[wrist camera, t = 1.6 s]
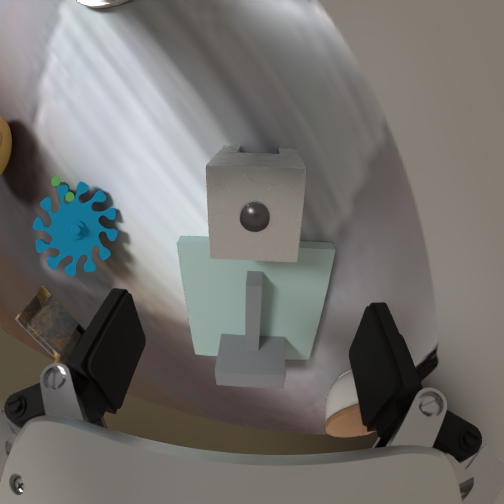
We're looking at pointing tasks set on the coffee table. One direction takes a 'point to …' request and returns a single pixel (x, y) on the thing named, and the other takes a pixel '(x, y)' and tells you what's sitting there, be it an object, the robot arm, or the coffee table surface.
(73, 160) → the coffee table surface
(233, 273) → the plate with grey stand
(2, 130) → the stress ball
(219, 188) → the grey box with knob
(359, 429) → the lidded bowl
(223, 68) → the coffee table surface
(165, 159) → the coffee table surface
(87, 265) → the gear
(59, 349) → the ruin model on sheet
